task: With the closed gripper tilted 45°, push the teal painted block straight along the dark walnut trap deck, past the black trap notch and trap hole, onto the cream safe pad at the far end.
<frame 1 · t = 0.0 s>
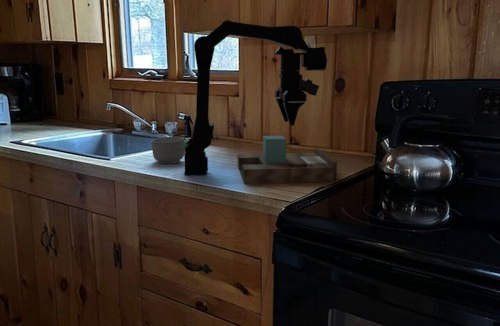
hand: (289, 123, 140), 15 cm above the worktop, tool pointing down, fingers open, 9 cm apart
trap deck: (283, 173, 140), on the worktop
teacup: (169, 161, 157), on the worktop
dish sponge: (183, 150, 179), on the worktop
teal block: (274, 160, 139), point 4 cm above the worktop, touching trap deck
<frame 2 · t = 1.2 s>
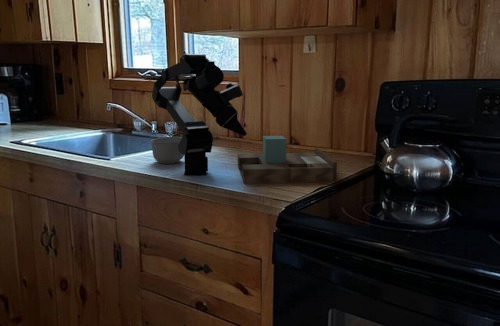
hand: (244, 132, 137), 13 cm above the worktop, tool tilted 45°, fingers open, 8 cm apart
nothing on the worktop moved.
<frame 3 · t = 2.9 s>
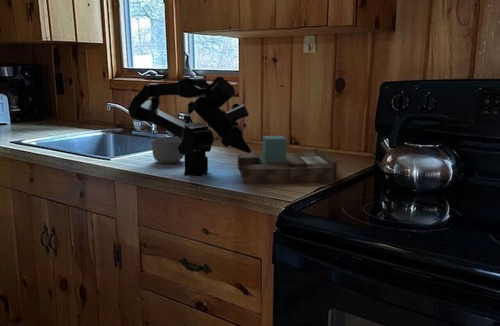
hand: (250, 151, 138), 7 cm above the worktop, tool tilted 45°, fingers closed
nothing on the worktop moved.
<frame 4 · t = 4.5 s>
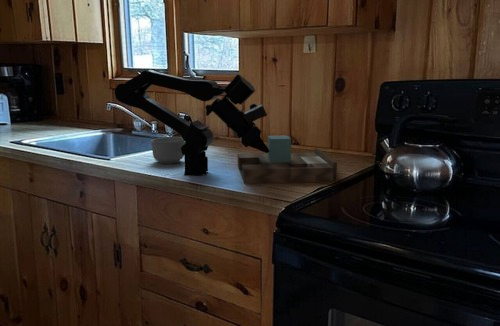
hand: (268, 151, 138), 7 cm above the worktop, tool tilted 45°, fingers closed
teal block: (279, 160, 139), point 4 cm above the worktop
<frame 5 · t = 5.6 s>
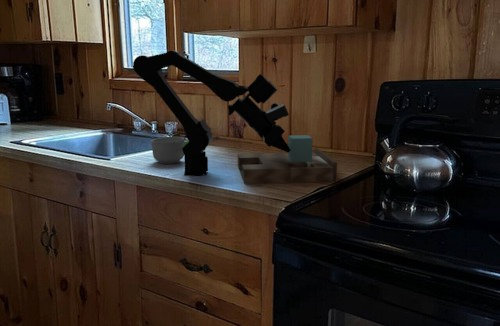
hand: (289, 151, 139), 7 cm above the worktop, tool tilted 45°, fingers closed
teal block: (299, 159, 140), point 4 cm above the worktop
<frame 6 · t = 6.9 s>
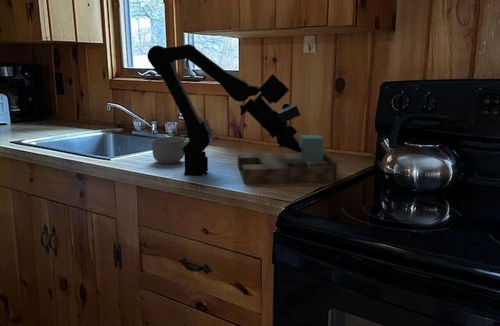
hand: (300, 151, 139), 7 cm above the worktop, tool tilted 45°, fingers closed, pressing on teal block
teal block: (310, 159, 140), point 4 cm above the worktop, touching gripper, trap deck
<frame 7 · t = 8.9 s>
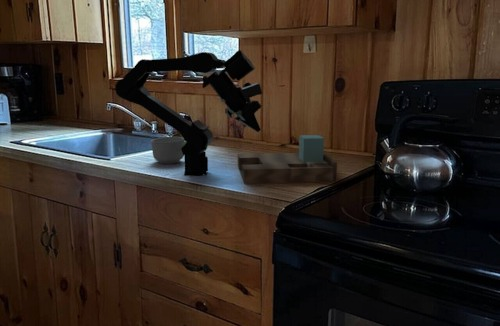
hand: (259, 130, 139), 13 cm above the worktop, tool tilted 40°, fingers closed
teal block: (310, 159, 140), point 4 cm above the worktop, touching trap deck
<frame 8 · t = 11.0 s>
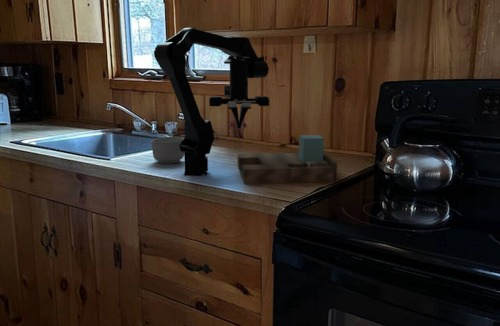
hand: (238, 128, 149), 12 cm above the worktop, tool pointing down, fingers closed
at the end: teal block inside the target area on the trap deck (0.3 cm from its centre), point 4.0 cm above the trap deck's base; teal block tilted 0°; teal block touching trap deck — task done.
